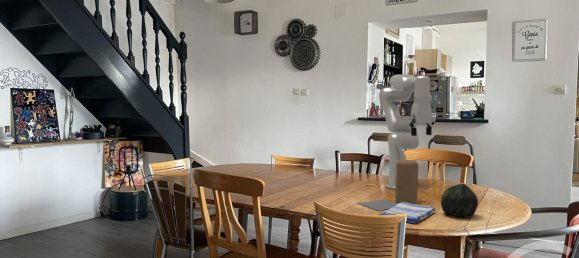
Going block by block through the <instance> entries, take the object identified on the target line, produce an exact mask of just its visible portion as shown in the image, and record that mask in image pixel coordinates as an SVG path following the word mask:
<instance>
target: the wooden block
mask: <svg viewBox="0 0 579 258" xmlns="http://www.w3.org/2000/svg"><path fill="white" fill-rule="evenodd" d="M418 181H419V163H418V161H416V160H413V159H412V160H409V159H406V160H397V161H396V183H395V189H394V199H395V203H398V204H399V203H401V202H406V203H410V204H415V205H417V203H418V187H419V186H418V184H419V183H418Z"/></svg>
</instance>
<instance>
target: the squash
mask: <svg viewBox="0 0 579 258" xmlns="http://www.w3.org/2000/svg"><path fill="white" fill-rule="evenodd" d="M440 206H441V210H442V211H443V212H444V213H445V214H446V215H450V216H454V215H455V216H459V217H461V218H470V217H472V216H473V215H475V213H476V211H477V208H478V206H479V200H478V196H477V194H476V193H475V192H474V191H473V190H472V189H471V188H470V187H469V186H468V185H467V184H465V183H459V184H456V185H452V186H450V187H448V188H446V189H445V190H444V191H443V193H442V195H441V198H440Z"/></svg>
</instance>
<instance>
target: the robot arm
mask: <svg viewBox="0 0 579 258" xmlns="http://www.w3.org/2000/svg"><path fill="white" fill-rule="evenodd" d="M388 83H389V86H390V87H384V88H381V89H380V90H379V93H378V99H379V104H380V106H381V109H382V110H383V113H384V116H385V121H386V126H387V130H388V131H389V132H390V134H389V135H388V136H387V144H388V154H389V156H388V157H389V160H388V161H389V163H388V164H389V165H388V169H389V171H388V183H387V184H386V188H388V189H394V190H395V183H396V161H397V160H407V155H406V154H405V152H404V151H403V150H415V149H417V148H418V147H419V146H420V137H419V134H418V129H417V126H418V124H419V125H423V124H425V126H426V128H425V135H426V136H432V133H433V132H432V130H433V129H432V128H433V127H434V125H435V121H436V117H434V116H433V115H432V105H431V103H430V102H431V101H432V100H431V99H430V98H431V78H430V77H429V76H427V75H417V76H414V75H413V74H394V75H393V76H391V77H390V79H389V82H388ZM412 94H413V103H412V106H411V110H410V116H409V115H405V116H402V115H401V114H400V110H399V108H398V106H396V105H395V104H394V103H393V102H395V103H396V102H401V103H402V102H407V101H408V100H409V99H410V98H411V96H412Z"/></svg>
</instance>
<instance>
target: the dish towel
mask: <svg viewBox="0 0 579 258" xmlns="http://www.w3.org/2000/svg"><path fill="white" fill-rule="evenodd" d="M436 211H437V210H436V208H435V207H434V206H428V205H421V204H410V203H406V202H401V203H398V204H397V205H396V206H394V207H392V208H390V209H389V210H384V211H383V212H381V213H379V214H378V216H379V215H396V214H403V213H407V222H406V223H408V224H413V225H416V224H417V223H419V222H420V221H422V220H424V219H426V218H428V217H430V216H431V215H433V214H434V213H435V212H436Z"/></svg>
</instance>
